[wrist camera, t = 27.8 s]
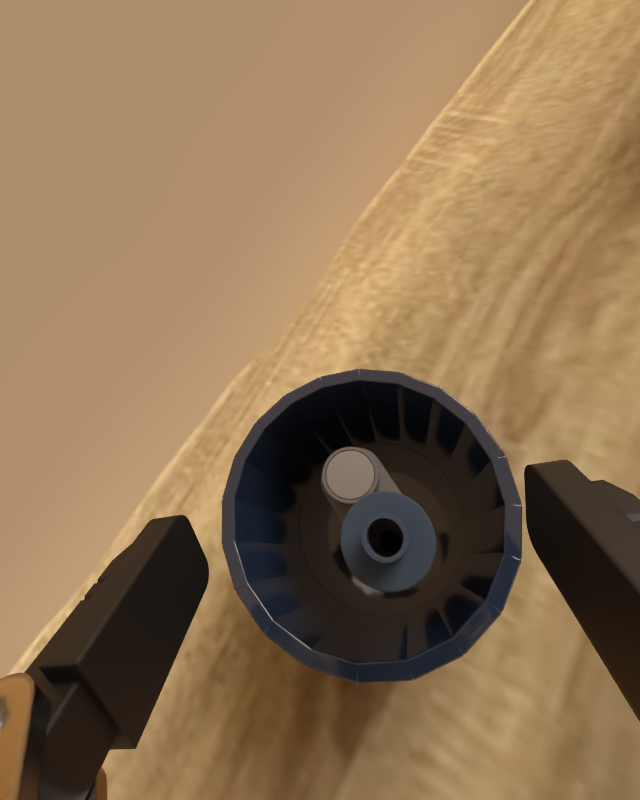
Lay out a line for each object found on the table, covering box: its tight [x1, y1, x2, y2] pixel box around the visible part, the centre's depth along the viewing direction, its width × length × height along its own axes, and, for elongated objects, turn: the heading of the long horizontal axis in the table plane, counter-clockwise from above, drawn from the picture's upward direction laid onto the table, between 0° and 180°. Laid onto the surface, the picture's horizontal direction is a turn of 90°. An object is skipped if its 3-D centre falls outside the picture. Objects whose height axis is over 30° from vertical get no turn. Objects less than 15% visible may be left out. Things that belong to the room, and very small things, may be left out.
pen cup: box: [222, 369, 522, 684], centre depth 16 cm, size 10×10×9 cm
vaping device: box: [321, 447, 436, 592], centre depth 14 cm, size 3×5×12 cm, turn 29°
